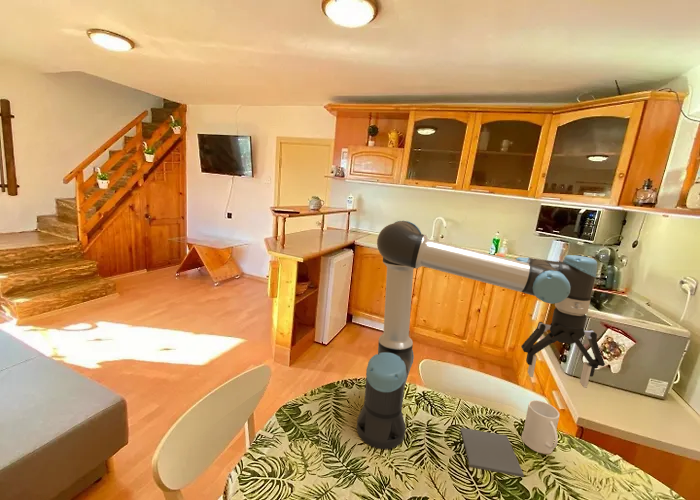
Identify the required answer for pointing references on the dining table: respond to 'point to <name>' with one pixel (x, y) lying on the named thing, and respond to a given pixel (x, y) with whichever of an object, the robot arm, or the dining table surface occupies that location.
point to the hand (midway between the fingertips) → (556, 379)
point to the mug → (541, 427)
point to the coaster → (490, 452)
